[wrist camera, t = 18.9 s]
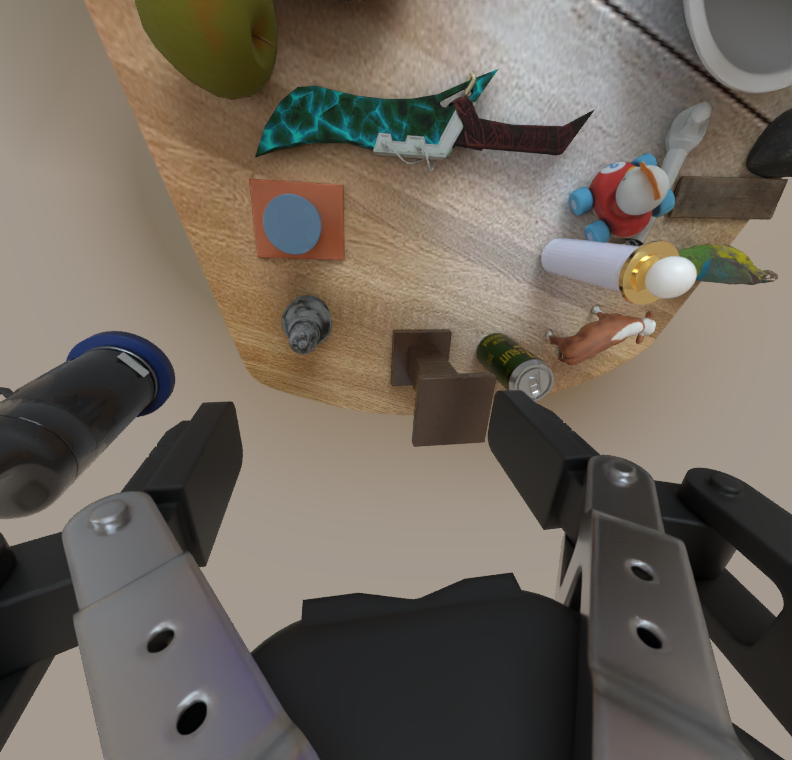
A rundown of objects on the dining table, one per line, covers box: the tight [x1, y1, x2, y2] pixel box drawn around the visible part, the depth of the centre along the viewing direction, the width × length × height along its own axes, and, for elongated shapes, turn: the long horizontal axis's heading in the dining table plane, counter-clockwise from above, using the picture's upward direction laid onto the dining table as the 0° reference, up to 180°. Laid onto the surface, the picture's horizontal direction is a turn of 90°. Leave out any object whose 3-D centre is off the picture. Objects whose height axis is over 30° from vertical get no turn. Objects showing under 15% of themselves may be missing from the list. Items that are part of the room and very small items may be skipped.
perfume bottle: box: [541, 237, 697, 305], centre depth 38 cm, size 6×6×20 cm
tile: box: [249, 179, 344, 260], centre depth 41 cm, size 10×8×1 cm
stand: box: [391, 330, 496, 447], centre depth 44 cm, size 8×8×16 cm
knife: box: [255, 70, 594, 172], centre depth 38 cm, size 37×3×10 cm
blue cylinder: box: [263, 194, 323, 255], centre depth 36 cm, size 5×5×10 cm
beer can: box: [477, 333, 554, 401], centre depth 47 cm, size 5×5×12 cm
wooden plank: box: [668, 176, 788, 219], centre depth 48 cm, size 17×1×5 cm
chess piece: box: [282, 295, 332, 354], centre depth 40 cm, size 6×6×12 cm
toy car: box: [569, 153, 675, 243], centre depth 39 cm, size 9×9×10 cm
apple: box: [135, 0, 277, 100], centre depth 29 cm, size 10×10×11 cm
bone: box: [623, 101, 712, 245], centre depth 44 cm, size 18×5×4 cm
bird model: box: [678, 245, 778, 285], centre depth 49 cm, size 5×19×5 cm
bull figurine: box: [546, 305, 656, 365], centre depth 49 cm, size 4×14×8 cm, turn 112°
